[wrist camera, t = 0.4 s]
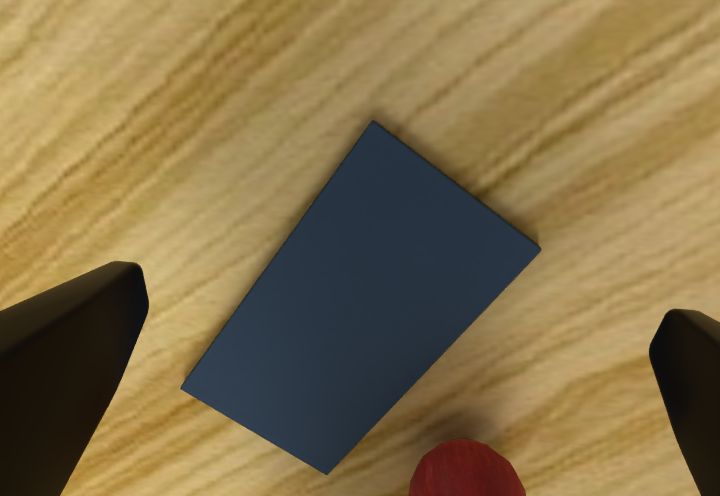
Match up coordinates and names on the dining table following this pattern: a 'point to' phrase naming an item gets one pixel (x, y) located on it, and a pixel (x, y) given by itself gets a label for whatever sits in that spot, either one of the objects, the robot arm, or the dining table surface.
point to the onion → (464, 472)
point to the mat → (358, 302)
